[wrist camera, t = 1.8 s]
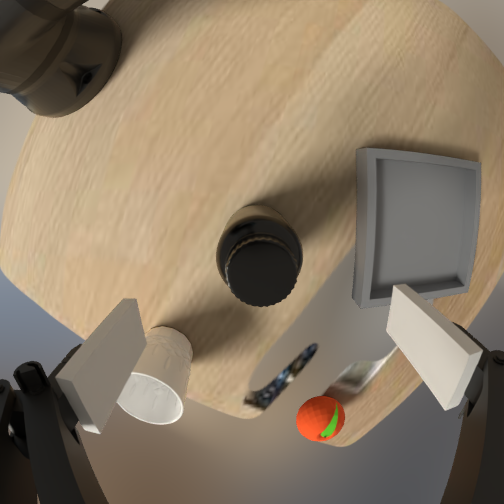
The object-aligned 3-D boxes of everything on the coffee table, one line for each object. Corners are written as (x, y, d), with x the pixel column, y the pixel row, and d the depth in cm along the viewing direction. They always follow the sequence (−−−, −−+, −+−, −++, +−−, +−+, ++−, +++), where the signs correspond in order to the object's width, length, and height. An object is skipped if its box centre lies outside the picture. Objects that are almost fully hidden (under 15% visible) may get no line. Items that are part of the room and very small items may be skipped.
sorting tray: (355, 149, 27) (366, 147, 24) (466, 162, 27) (480, 162, 24) (351, 297, 32) (360, 308, 29) (455, 284, 32) (467, 292, 29)
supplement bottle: (296, 255, 30) (323, 305, 19) (236, 274, 31) (229, 333, 19) (278, 194, 29) (298, 210, 17) (215, 214, 29) (193, 243, 18)
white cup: (145, 312, 32) (114, 360, 23) (205, 335, 33) (191, 391, 24) (135, 357, 34) (109, 406, 25) (188, 378, 35) (174, 432, 26)
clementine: (306, 378, 35) (316, 415, 29) (349, 383, 36) (363, 417, 29) (286, 414, 37) (291, 449, 31) (326, 418, 38) (336, 451, 31)
